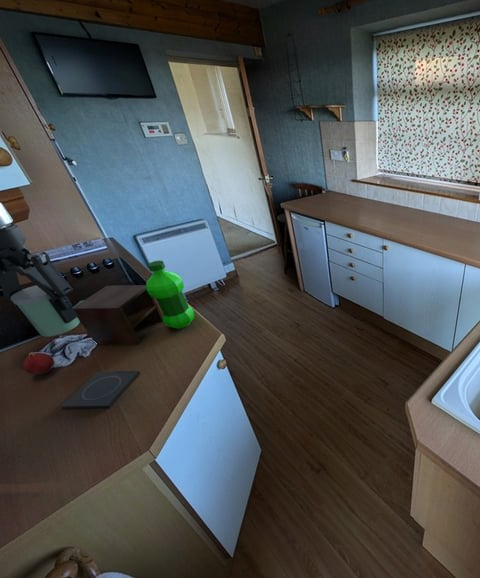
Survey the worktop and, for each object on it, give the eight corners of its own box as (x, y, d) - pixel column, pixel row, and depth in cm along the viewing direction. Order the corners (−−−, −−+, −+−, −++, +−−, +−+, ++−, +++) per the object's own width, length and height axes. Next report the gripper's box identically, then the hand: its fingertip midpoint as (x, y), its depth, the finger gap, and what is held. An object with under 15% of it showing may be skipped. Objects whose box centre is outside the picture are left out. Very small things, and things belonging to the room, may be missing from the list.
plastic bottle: (159, 333, 103) (128, 270, 90) (176, 315, 112) (150, 256, 99) (188, 333, 103) (161, 270, 91) (203, 315, 112) (180, 256, 100)
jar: (29, 337, 67) (-1, 300, 62) (58, 318, 74) (34, 283, 68) (62, 336, 68) (35, 300, 62) (89, 317, 74) (66, 283, 69)
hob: (62, 409, 77) (60, 406, 76) (98, 374, 87) (97, 371, 87) (109, 407, 77) (107, 405, 77) (140, 373, 88) (138, 370, 87)
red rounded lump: (27, 377, 86) (9, 357, 82) (51, 363, 90) (36, 344, 86) (40, 382, 84) (23, 362, 80) (64, 368, 89) (49, 348, 85)
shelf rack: (96, 345, 98) (71, 308, 90) (126, 319, 110) (106, 285, 102) (138, 344, 98) (118, 307, 91) (164, 319, 110) (148, 285, 102)
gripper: (57, 221, 61) (110, 310, 73) (-44, 221, 60) (26, 311, 72) (21, 233, 55) (85, 329, 67) (-93, 234, 54) (-8, 331, 66)
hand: (54, 320), depth 69 cm, fingers closed on jar, 7 cm apart
